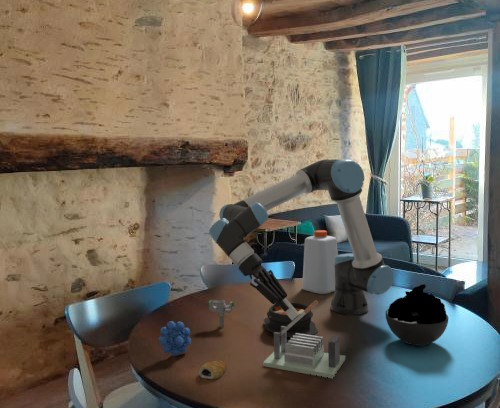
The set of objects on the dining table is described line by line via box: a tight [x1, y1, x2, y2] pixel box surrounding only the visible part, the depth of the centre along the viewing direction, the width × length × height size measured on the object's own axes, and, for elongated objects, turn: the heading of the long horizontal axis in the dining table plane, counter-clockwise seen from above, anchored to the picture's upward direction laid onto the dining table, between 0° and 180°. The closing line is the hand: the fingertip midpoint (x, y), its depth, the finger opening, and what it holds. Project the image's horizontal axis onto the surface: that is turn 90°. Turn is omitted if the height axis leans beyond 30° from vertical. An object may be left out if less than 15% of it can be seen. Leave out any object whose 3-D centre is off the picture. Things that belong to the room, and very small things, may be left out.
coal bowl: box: [385, 283, 449, 346], centre depth 163 cm, size 20×20×19 cm
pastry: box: [197, 359, 228, 380], centre depth 146 cm, size 9×7×4 cm
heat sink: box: [273, 326, 341, 369], centre depth 151 cm, size 19×11×8 cm, turn 65°
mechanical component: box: [206, 299, 236, 329], centre depth 184 cm, size 3×10×10 cm, turn 78°
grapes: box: [158, 320, 192, 357], centre depth 158 cm, size 12×7×12 cm, turn 126°
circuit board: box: [262, 345, 346, 379], centre depth 151 cm, size 22×14×1 cm, turn 65°
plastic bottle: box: [301, 229, 339, 295], centre depth 229 cm, size 15×15×28 cm
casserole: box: [263, 302, 319, 339], centre depth 179 cm, size 25×19×8 cm
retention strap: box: [280, 299, 319, 338], centre depth 151 cm, size 17×6×1 cm
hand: (295, 317), depth 150 cm, fingers closed
